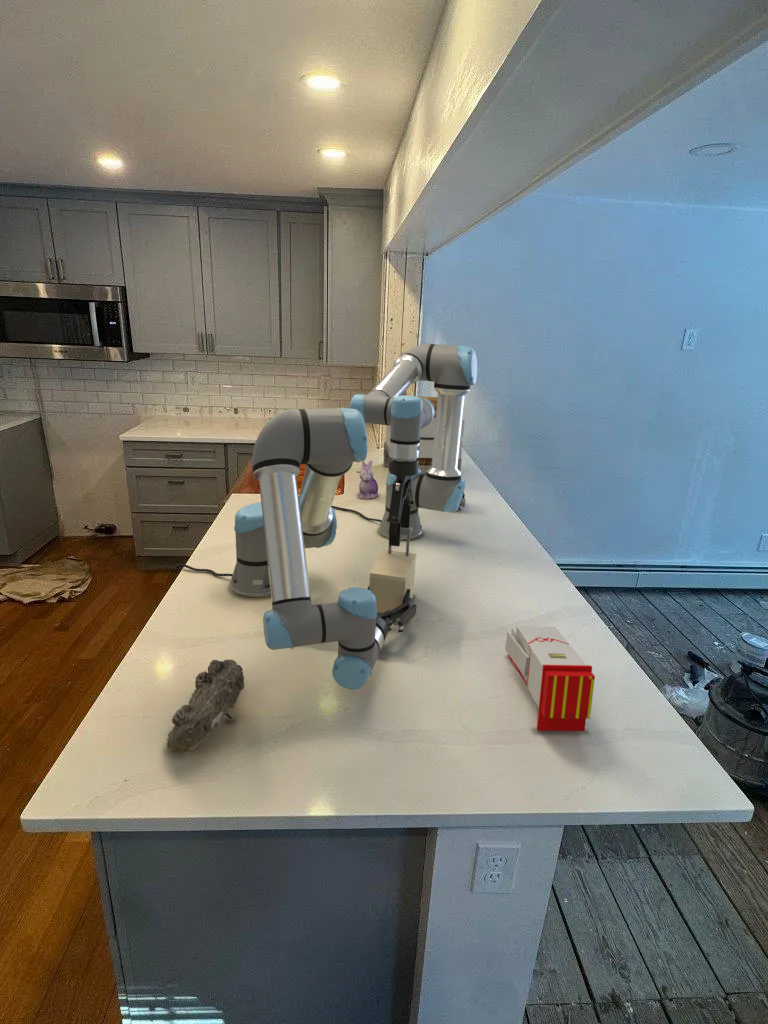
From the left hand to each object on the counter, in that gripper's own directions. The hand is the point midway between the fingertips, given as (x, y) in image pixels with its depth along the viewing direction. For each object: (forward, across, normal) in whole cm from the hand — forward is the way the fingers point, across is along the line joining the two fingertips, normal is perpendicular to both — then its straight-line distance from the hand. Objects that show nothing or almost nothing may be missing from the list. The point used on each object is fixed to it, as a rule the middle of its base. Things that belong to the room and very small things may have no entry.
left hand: (389, 590), depth 146 cm
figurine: (+91, -29, -6) cm, 96 cm away
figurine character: (+90, +7, -6) cm, 91 cm away
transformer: (+134, -15, -6) cm, 135 cm away
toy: (-22, +38, -6) cm, 44 cm away
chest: (+3, 0, -6) cm, 7 cm away
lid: (+4, 0, +5) cm, 6 cm away
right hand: (+9, 0, +12) cm, 15 cm away
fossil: (-49, -24, -6) cm, 55 cm away
